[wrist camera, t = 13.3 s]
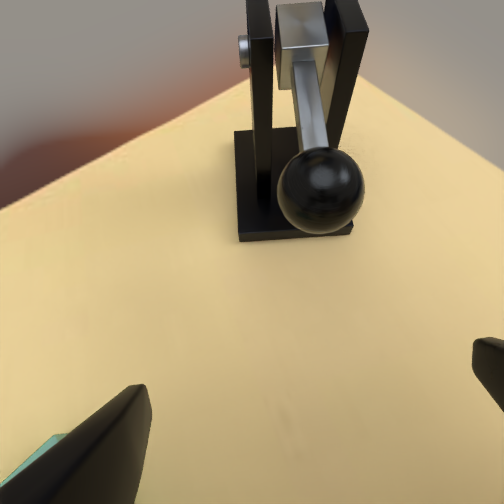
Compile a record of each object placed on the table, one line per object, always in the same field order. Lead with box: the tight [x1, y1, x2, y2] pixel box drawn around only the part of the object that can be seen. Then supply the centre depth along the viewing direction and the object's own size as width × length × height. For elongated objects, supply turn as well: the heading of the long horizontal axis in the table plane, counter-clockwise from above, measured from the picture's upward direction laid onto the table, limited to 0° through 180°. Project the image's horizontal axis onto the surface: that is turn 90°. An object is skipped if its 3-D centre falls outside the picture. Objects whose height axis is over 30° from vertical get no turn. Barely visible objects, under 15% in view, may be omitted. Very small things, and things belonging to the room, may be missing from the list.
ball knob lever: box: [274, 2, 365, 234], centre depth 14 cm, size 11×4×4 cm, turn 3°
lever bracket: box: [234, 0, 369, 242], centre depth 20 cm, size 10×8×12 cm
